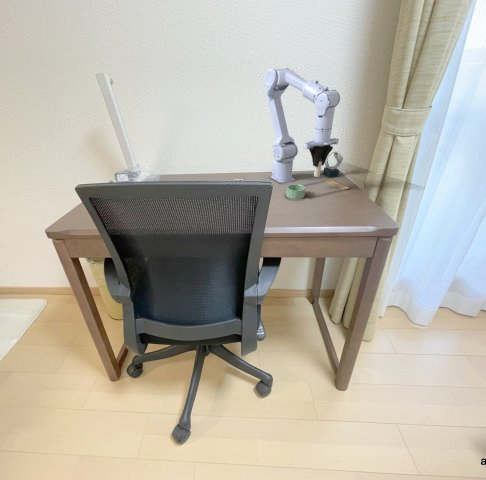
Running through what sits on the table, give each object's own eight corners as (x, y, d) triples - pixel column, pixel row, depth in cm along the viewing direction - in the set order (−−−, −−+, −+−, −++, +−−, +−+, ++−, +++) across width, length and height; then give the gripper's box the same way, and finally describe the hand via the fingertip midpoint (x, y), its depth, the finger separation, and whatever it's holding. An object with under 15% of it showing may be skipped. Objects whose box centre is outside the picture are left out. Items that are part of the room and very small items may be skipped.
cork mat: (291, 188, 109) (291, 187, 109) (329, 180, 115) (329, 179, 115) (309, 198, 100) (310, 197, 100) (349, 188, 106) (350, 187, 105)
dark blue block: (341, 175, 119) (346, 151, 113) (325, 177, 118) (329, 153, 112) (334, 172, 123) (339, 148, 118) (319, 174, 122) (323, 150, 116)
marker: (312, 175, 104) (314, 158, 100) (317, 174, 104) (319, 157, 101) (316, 177, 102) (318, 159, 98) (321, 176, 103) (323, 158, 99)
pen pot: (282, 195, 103) (283, 186, 101) (297, 191, 106) (298, 183, 103) (292, 201, 98) (293, 192, 96) (308, 197, 100) (309, 188, 98)
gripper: (314, 132, 88) (309, 171, 96) (347, 127, 93) (340, 165, 100) (301, 129, 94) (298, 166, 101) (333, 125, 98) (327, 160, 105)
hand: (318, 165), depth 101 cm, fingers closed on marker, 2 cm apart
